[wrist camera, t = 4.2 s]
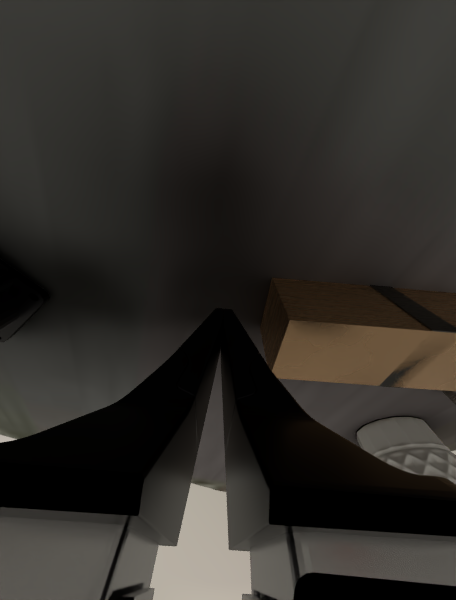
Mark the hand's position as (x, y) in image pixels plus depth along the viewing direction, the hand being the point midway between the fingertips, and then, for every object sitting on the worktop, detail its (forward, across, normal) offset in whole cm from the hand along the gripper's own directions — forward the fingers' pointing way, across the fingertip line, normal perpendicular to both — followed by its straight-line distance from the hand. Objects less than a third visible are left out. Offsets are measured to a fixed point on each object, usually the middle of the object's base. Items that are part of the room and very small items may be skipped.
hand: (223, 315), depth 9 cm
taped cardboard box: (+2, -8, 0) cm, 9 cm away
